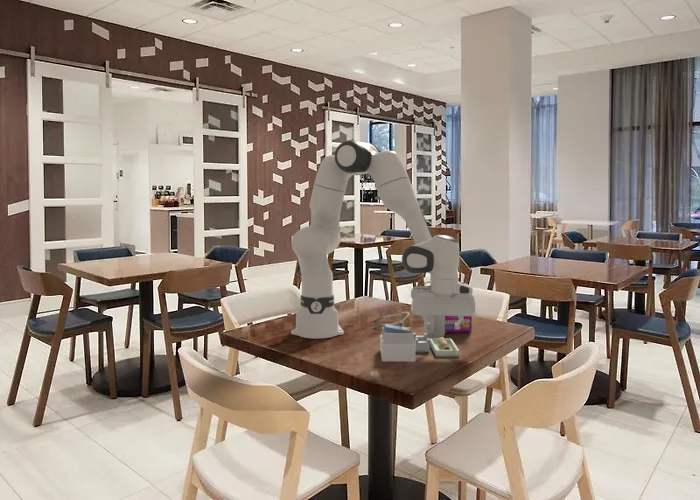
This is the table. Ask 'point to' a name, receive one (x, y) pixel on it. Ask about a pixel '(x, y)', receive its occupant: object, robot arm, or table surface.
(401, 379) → the table surface
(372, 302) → the table surface
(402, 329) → the blue box
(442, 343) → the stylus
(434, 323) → the cup
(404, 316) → the sunglasses
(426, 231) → the robot arm
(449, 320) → the candy bar box
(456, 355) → the tray
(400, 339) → the grey card holder
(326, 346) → the table surface
